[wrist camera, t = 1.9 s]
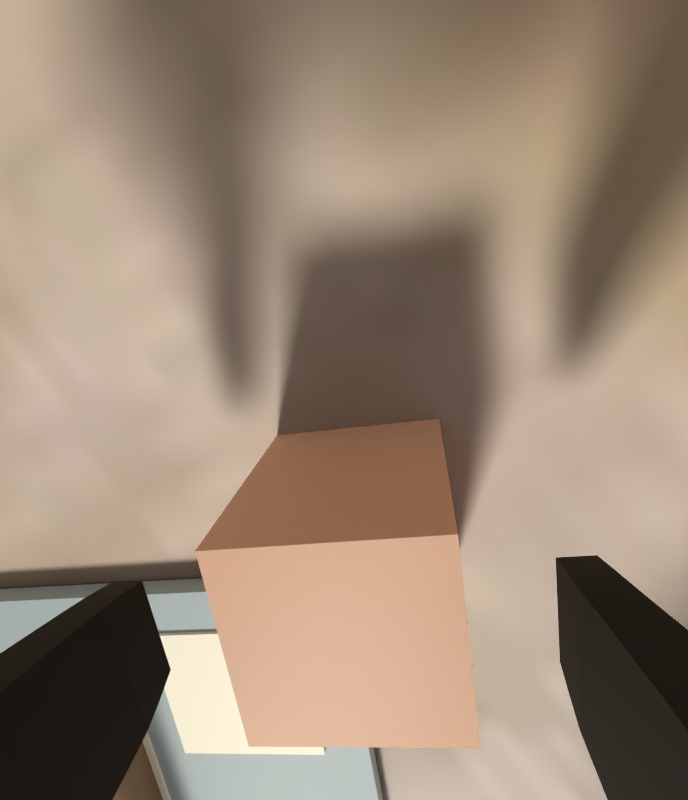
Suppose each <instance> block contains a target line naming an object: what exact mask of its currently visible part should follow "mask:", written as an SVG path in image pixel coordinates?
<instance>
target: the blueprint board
mask: <svg viewBox="0 0 688 800" xmlns="http://www.w3.org/2000/svg"><path fill="white" fill-rule="evenodd" d="M142 582H143V585H144V588H145V591H146V594H147V598H148V601H149V604H150V607H151V610H152V613H153V616H154V619H155V622H156V625H157V629H158V632H159V635H160V638H161V641H162V644H163V647H164V650H165V653H166V657H167V660H168V663H169V666H170V669H171V670H170V673H169V676H168V679H167V682H166V684H165V687H164V690H163V693H162V696H161V698H160V701H159V704H158V706H157V709H156V711H155V714H154V716H153V719H152V721H151V724H150V726H149V729H148V731H147V733H146V735H145V737H144V739H143V744H144V747H145V750H146V753H147V755H148V758H149V761H150V764H151V767H152V770H153V772H154V775H155V778H156V781H157V784H158V786H159V789H160V792H161V795H162V798H163V800H383V795H382V790H381V784H380V779H379V773H378V768H377V763H376V757H375V752H374V747H249V745H248V742H247V738H246V734H245V731H244V727H243V724H242V720H241V716H240V713H239V709H238V705H237V702H236V698H235V695H234V691H233V687H232V684H231V680H230V676H229V673H228V669H227V665H226V662H225V658H224V655H223V651H222V647H221V644H220V640H219V636H218V633H217V629H216V626H215V622H214V618H213V615H212V611H211V607H210V604H209V600H208V597H207V593H206V589H205V586H204V582H203V578H197V579H178V580H159V581H142ZM108 584H110V583H103V584H84V585H65V586H46V587H28V588H9V589H0V653H2V652H3V651H5V650H6V649H8V648H9V647H11V646H12V645H14V644H15V643H17V642H18V641H20V640H21V639H23V638H24V637H26V636H27V635H29V634H30V633H32V632H33V631H35V630H36V629H38V628H39V627H41V626H42V625H44V624H45V623H47V622H48V621H50V620H51V619H53V618H54V617H56V616H58V615H59V614H61V613H62V612H64V611H65V610H67V609H68V608H70V607H71V606H73V605H75V604H76V603H78V602H79V601H81V600H82V599H84V598H86V597H87V596H89V595H91V594H92V593H94V592H96V591H97V590H99V589H101V588H103V587H105V586H106V585H108Z"/></svg>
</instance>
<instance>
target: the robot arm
mask: <svg viewBox="0 0 688 800" xmlns="http://www.w3.org/2000/svg"><path fill="white" fill-rule="evenodd" d="M556 571H557V596H558V621H559V646H560V663H561V666H562V670H563V673H564V677H565V680H566V684H567V687H568V691H569V694H570V698H571V701H572V705H573V708H574V711H575V715H576V718H577V721H578V725H579V728H580V731H581V734H582V736H583V739H584V741H585V744H586V746H587V749H588V751H589V754H590V756H591V759H592V761H593V764H594V766H595V769H596V771H597V774H598V776H599V779H600V781H601V784H602V786H603V789H604V791H605V794H606V796H607V799H608V800H688V630H687V629H686V628H685V627H683V626H682V625H681V624H680V623H678V622H677V621H676V620H675V619H673V618H672V617H671V616H670V615H668V614H667V613H666V612H665V611H664V610H662V609H661V608H660V607H659V606H657V605H656V604H655V603H654V602H653V601H651V600H650V599H649V598H648V597H647V596H645V595H644V594H643V593H642V592H641V591H639V590H638V589H637V588H636V587H635V586H633V585H632V584H631V583H630V582H629V581H627V580H626V579H625V578H624V577H623V576H621V575H620V574H619V573H618V572H616V571H615V570H614V569H613V568H612V567H610V566H609V565H608V564H607V563H606V562H604V561H603V560H602V559H601V558H599V557H598V556H579V557H561V558H556ZM170 670H171V669H170V666H169V663H168V660H167V657H166V653H165V650H164V647H163V644H162V641H161V638H160V635H159V632H158V629H157V625H156V622H155V619H154V616H153V613H152V610H151V607H150V604H149V601H148V598H147V594H146V591H145V588H144V585H143V582H142V581H127V582H112V583H110V584H108V585H106V586H105V587H103V588H101V589H99V590H97V591H96V592H94V593H92V594H91V595H89V596H87V597H86V598H84V599H82V600H81V601H79V602H78V603H76V604H75V605H73V606H71V607H70V608H68V609H67V610H65V611H64V612H62V613H61V614H59V615H58V616H56V617H54V618H53V619H51V620H50V621H48V622H47V623H45V624H44V625H42V626H41V627H39V628H38V629H36V630H35V631H33V632H32V633H30V634H29V635H27V636H26V637H24V638H23V639H21V640H20V641H18V642H17V643H15V644H14V645H12V646H11V647H9V648H8V649H6V650H5V651H3V652H2V653H0V800H113V798H114V796H115V794H116V792H117V790H118V788H119V786H120V785H121V783H122V781H123V779H124V777H125V775H126V773H127V771H128V769H129V767H130V765H131V763H132V761H133V759H134V757H135V755H136V753H137V751H138V749H139V747H140V745H141V743H142V741H143V739H144V737H145V735H146V733H147V731H148V729H149V726H150V724H151V721H152V719H153V716H154V714H155V711H156V709H157V706H158V704H159V701H160V698H161V696H162V693H163V690H164V687H165V684H166V682H167V679H168V676H169V673H170Z"/></svg>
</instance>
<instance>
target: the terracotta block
mask: <svg viewBox="0 0 688 800" xmlns="http://www.w3.org/2000/svg"><path fill="white" fill-rule="evenodd" d="M195 553H196V557H197V560H198V564H199V567H200V571H201V575H202V578H203V582H204V586H205V589H206V593H207V597H208V600H209V604H210V607H211V611H212V615H213V618H214V622H215V626H216V629H217V633H218V636H219V640H220V644H221V647H222V651H223V655H224V658H225V662H226V665H227V669H228V673H229V676H230V680H231V684H232V687H233V691H234V695H235V698H236V702H237V705H238V709H239V713H240V716H241V720H242V724H243V727H244V731H245V734H246V738H247V742H248V745H249V747H381V748H480V739H479V729H478V719H477V710H476V700H475V691H474V681H473V672H472V662H471V653H470V643H469V634H468V624H467V615H466V605H465V596H464V586H463V576H462V567H461V557H460V548H459V538H458V531H457V525H456V518H455V512H454V506H453V500H452V494H451V488H450V482H449V475H448V469H447V463H446V457H445V451H444V445H443V438H442V432H441V426H440V420H439V418H438V419H429V420H419V421H409V422H400V423H390V424H380V425H371V426H361V427H351V428H342V429H332V430H322V431H313V432H303V433H293V434H284V435H277V436H276V438H275V439H274V441H273V442H272V443H271V445H270V446H269V448H268V449H267V450H266V452H265V453H264V455H263V456H262V458H261V459H260V460H259V462H258V463H257V465H256V466H255V467H254V469H253V470H252V472H251V473H250V474H249V476H248V477H247V479H246V480H245V482H244V483H243V484H242V486H241V487H240V489H239V490H238V491H237V493H236V494H235V496H234V497H233V498H232V500H231V501H230V503H229V504H228V506H227V507H226V508H225V510H224V511H223V513H222V514H221V515H220V517H219V518H218V520H217V521H216V522H215V524H214V525H213V527H212V528H211V530H210V531H209V532H208V534H207V535H206V537H205V538H204V539H203V541H202V542H201V544H200V545H199V546H198V548H197V549H196V551H195Z"/></svg>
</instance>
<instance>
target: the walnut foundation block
mask: <svg viewBox="0 0 688 800" xmlns="http://www.w3.org/2000/svg"><path fill="white" fill-rule="evenodd" d="M113 800H163V798H162V795H161V792H160V789H159V786H158V784H157V781H156V778H155V775H154V772H153V770H152V767H151V764H150V761H149V758H148V755H147V753H146V750H145V747H144V744H143V741H142V743H141V745H140V747H139V749H138V751H137V753H136V755H135V757H134V759H133V761H132V763H131V765H130V767H129V769H128V771H127V773H126V775H125V777H124V779H123V781H122V783H121V785H120V786H119V788H118V790H117V792H116V794H115V796H114V798H113Z"/></svg>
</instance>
